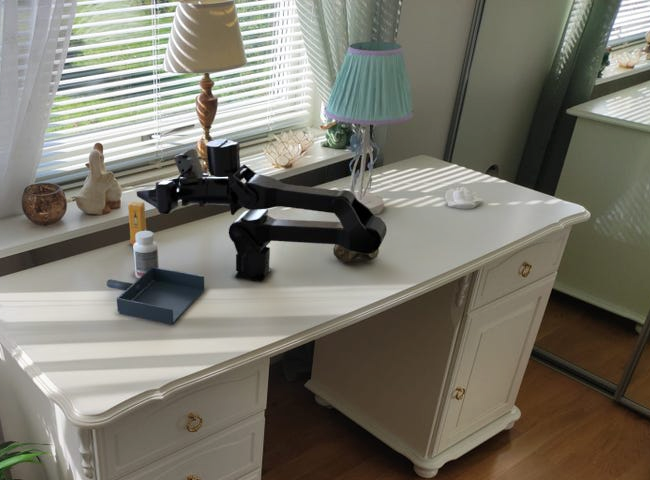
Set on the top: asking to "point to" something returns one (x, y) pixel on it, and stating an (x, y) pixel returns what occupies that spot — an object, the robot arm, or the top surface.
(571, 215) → the top surface
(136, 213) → the supplement box
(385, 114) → the table lamp
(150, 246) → the pill bottle
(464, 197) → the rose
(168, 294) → the dustpan
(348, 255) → the fossilized seashell
